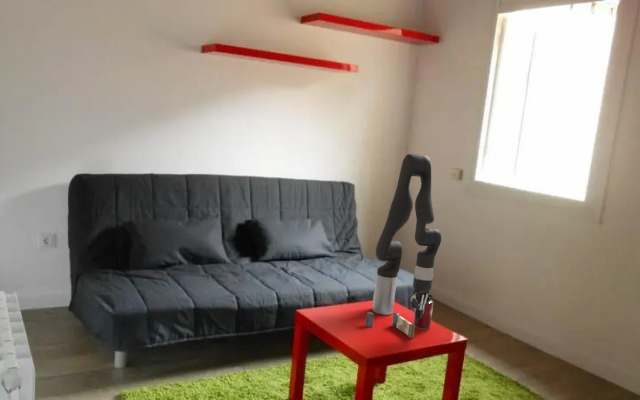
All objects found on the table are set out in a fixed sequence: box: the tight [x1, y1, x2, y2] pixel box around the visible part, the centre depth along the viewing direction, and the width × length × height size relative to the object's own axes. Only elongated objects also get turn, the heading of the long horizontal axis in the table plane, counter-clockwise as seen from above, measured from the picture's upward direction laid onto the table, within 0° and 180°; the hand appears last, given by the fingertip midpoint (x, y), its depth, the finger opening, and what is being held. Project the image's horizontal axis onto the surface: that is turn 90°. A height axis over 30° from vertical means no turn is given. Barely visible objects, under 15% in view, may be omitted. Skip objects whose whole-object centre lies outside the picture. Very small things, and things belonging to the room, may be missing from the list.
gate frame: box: [365, 311, 401, 329], centre depth 239 cm, size 3×14×6 cm, turn 101°
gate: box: [396, 315, 416, 339], centre depth 234 cm, size 11×2×5 cm, turn 23°
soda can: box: [412, 299, 434, 331], centre depth 243 cm, size 7×7×12 cm
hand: (418, 318), depth 231 cm, fingers closed
